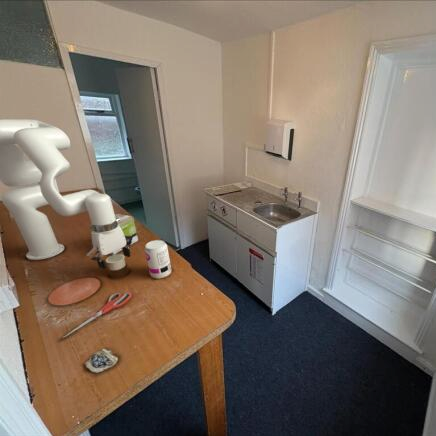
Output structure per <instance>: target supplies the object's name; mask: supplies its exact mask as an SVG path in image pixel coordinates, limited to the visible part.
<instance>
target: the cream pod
mask: <svg viewBox="0 0 436 436" xmlns="http://www.w3.org/2000/svg"><path fill="white" fill-rule="evenodd" d="M125 258H126V256H124V253H123V254H122V253H116V254H115V255H109V257H107V258H106V259H105V263H106V264H107V265H108V267H109V269H110V270H119V269H121V268H123V267H124V266H125V265H126V264H125V262H126V261H125Z"/></svg>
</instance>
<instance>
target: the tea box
mask: <svg viewBox="0 0 436 436" xmlns="http://www.w3.org/2000/svg"><path fill="white" fill-rule="evenodd" d="M115 217H116V219H117V218H119V220H120V221H118V222H117V223H118V225H119V226H120V227H121V229H122V231H123V233H124V235H130V236H133V238H132V243H131V245H133V244H135V243H137V242H139V237H138V233H137V228H136V223H135V219H134V216H132V215H126V214H122V213H115ZM89 228H90V232H91V233H92V231H94V229H93V226H92V223H91V224H90V225H89ZM126 241H127V239H126ZM121 251H123V250H122V248H120V249H118V250H116V251H114V252H112V253H110V254H109V255H110V256H112V255H116V254H119V252H121Z"/></svg>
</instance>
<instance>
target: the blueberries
mask: <svg viewBox="0 0 436 436" xmlns="http://www.w3.org/2000/svg"><path fill="white" fill-rule="evenodd" d="M118 359H119V358H118V357H117V356H115V355H113V352H112V350H110V349H109V348H102V349H100V350H99V351H95V352H94V353H92V355H90V357H89V360H87V361H85V362H84V365H85V366H86V368H87V369H89V371H91V373H96V374H99V373H100V372H103V371H104V370H105V371H107V369H110V368H112V367H114V366H115V365H116V364H117V362H118Z"/></svg>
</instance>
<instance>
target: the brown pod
mask: <svg viewBox="0 0 436 436" xmlns="http://www.w3.org/2000/svg"><path fill="white" fill-rule="evenodd" d="M125 264H126V265H125V266H124V267H123V268H121V269H119V270H110V269H109V266H108V267H107V271H108V274H109V277H110V278H112V279H118V278H122V277H124V276H126V275H128V274H129V266H128V263H127V262H126V261H125Z"/></svg>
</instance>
